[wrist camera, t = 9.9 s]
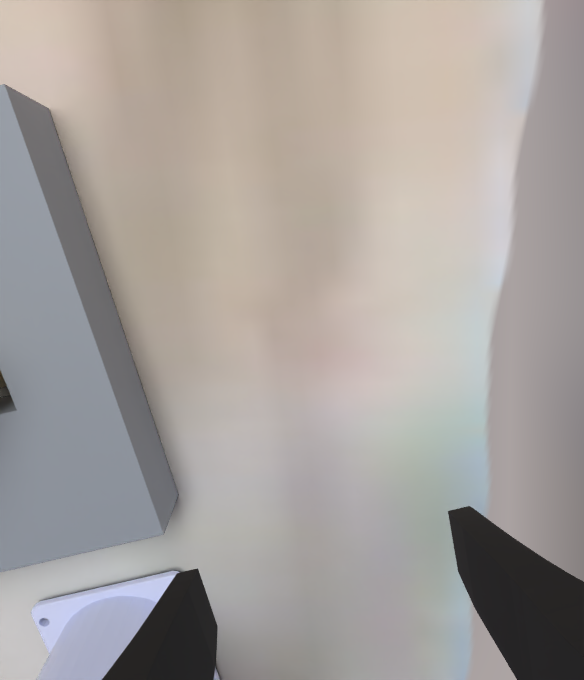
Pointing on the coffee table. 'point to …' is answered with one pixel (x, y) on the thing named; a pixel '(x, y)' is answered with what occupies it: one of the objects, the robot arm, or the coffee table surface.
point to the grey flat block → (64, 369)
